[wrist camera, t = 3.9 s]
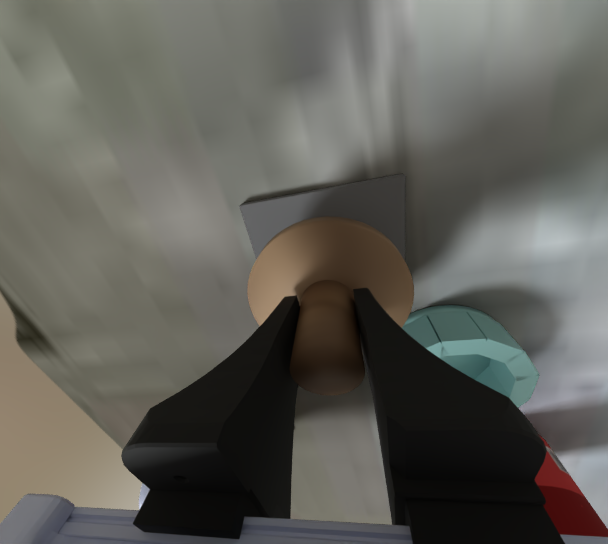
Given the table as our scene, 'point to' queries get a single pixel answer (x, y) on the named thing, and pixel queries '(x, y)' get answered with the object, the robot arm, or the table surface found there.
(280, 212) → the mat
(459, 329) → the bowl
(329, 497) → the table surface
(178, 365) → the table surface
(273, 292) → the lid
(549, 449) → the canned food
